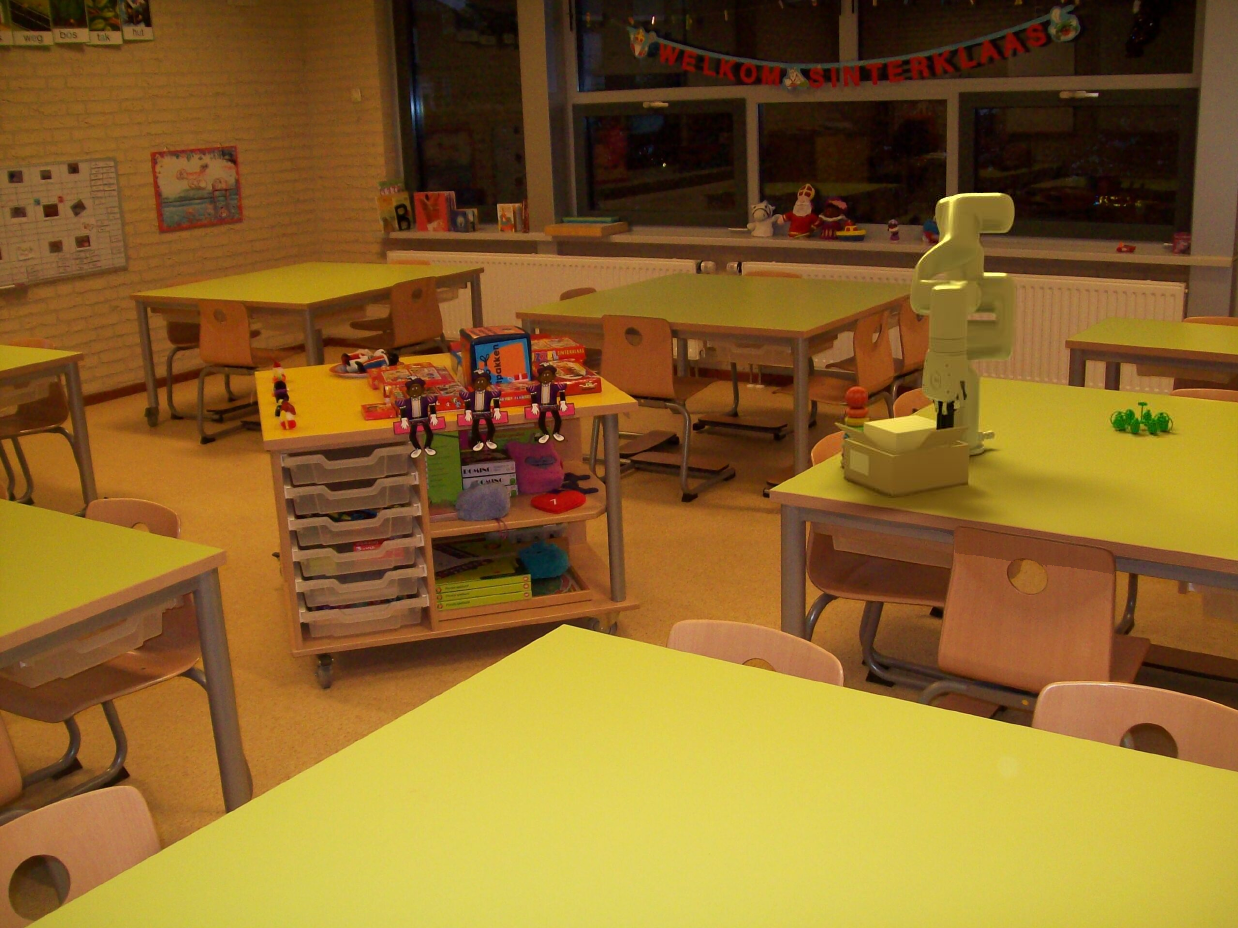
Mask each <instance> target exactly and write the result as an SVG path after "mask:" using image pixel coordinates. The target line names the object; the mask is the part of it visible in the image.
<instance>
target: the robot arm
mask: <svg viewBox="0 0 1238 928" xmlns="http://www.w3.org/2000/svg"><path fill="white" fill-rule="evenodd" d="M934 214H935V221H936V226H937V228H938V232H939V237H938V243H937V244H936V245H934V246H933V247H932V248H931V249H929V250H928V251H927V252H926V253H925V254H924V255H923V256H922V257H920V259H919V260H918V261H917V263H916V265H915V266H914V270H913V274H912V279H911V280H912V281H911V284H910V285H911V286H910V292H909V293H910V294H909V303H910V307H911V309H912V311H913V312H914V313H916V314H918V315H922V316H929V320H928V321H929V325H928V349H927V351H926V354H925V358H924V363H923V372H922V381H921V382H922V385H921V387H922V388H921V392H922V394H923V396H925V397H927V399H928V400H929V401H930V402H932V403H933V405H934V411H935V413H936V421H937V426H936V430H941V429H947V428H954V427H960V426H967V425H970V428H969V429H968V430H967V431H966V432H965V433H964V434H963V435H962V436H961V437H960V438H959V439H958V441H961V442H964V443H967V444H970V446H969V456H975V455H980V454H982V453H983V452H985V445H984V444H983V443H982V442H984V441H985V440H993V439H994V438H995V432H994V431H993V430H988V431H984V432H983V430H980V429H979V428H980V427H979V426H980V408H981V407H980V405H981V404H980V403H981V401H980V399H981V377H980V374H979V372H978V371H977V369H976V368H975V367H974V366H973V364H972V363H971V361H998V362H999V361H1006V360H1009V359H1010V357H1011V356H1012V354H1013V351H1014V346H1015V327H1016V308H1017V307H1016V304H1017V291H1016V289H1017V288H1016V283H1015V280H1014V278H1013V277H1012V276H1011V275H1010V274H1008V273H1006V272H985V269H984V265H985V251H984V248H983V247H982V245H981V244H980V235H981V234H1000V233H1001V234H1002V233H1003V234H1004V233H1007V232H1009V231H1010V230H1011V228H1012V226H1013V224H1014V219H1015V204H1014V200H1013V199H1012V197H1011V196H1010V195H1009V194H1006V193H1001V192H1000V193H999V192H983V193H980V192H979V193H977V192H974V193H973V192H971V193H959V194H954V195H953V196H948V197H944V198H941V199H940V200H938V201H937V203H936V206H935V212H934ZM943 273H945V278H934V277H936V276H938V275H941V274H943ZM972 314H974V315H975V314H976V315H977V314H979V315H980V314H983V315H984V314H985V315H986V314H987V315H992V316H993V317H994V319H976V318H975V319H974V318H971V319H970V318H968V316H970V315H972Z"/></svg>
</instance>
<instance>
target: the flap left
mask: <svg viewBox="0 0 1238 928" xmlns="http://www.w3.org/2000/svg"><path fill="white" fill-rule="evenodd" d="M969 428H970V425H967V426H960V427H954V428H947V429H941V430H934V431H930V432H929V433H928V434H927V436H926V437H925V438H924V439H923V440H922V441H921V442H920V443H919V445H918V446H917V447H916V450H917V449H923V448H930V447H936V446H942V445H949V444H955V443H956V442H957V440H958V439H959V438H960V437H961V436H962V435H963V434H964V433H965V432H966V431H967V430H968V429H969Z"/></svg>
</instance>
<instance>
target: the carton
mask: <svg viewBox="0 0 1238 928" xmlns="http://www.w3.org/2000/svg"><path fill="white" fill-rule="evenodd" d="M936 426H937V420H934V419H931V418H926V417H924V416H920V415H918V414H915V415H908V416H900V417H894V418H887V419H886V418H885V419H880V420H873V421H872V420H871V421H869V422H865V423H864V433H865V434H866V435H867V436H869V437H870V438H871V439H872V440H873V441H875V442H876V443H877V444H878V445H879V446H881V447H882V450H881V449H878V448H876V447H873V446H870V445H867V444H864V443H861V442H859V441H856V440H854V439H853V438H849V439H843V442H844V449H843V450H844V467H843V479H845V480H848V481H850V482H852V483H855V484H858V485H860V486H863V487H865V488H867V487H868V489H869V488H871V489H870V490H872V489H873V491H874V490H876V491H875V492H877V491H878V492H877V493H879V492H880V494H881V495H884V494H885V496H886V497H889V498H896V497H897V496H898V497H901V496H902V495H903V496H909V495H913V494H920V493H926V492H931V491H933V492H934V491H937V490H943V489H944V490H945V489H948V488H949V489H950V488H955V487H960V486H961V487H962V486H965V485H969V472H970V471H969V470H970V469H969V468H970V467H969V466H970V455H969V446H970V444H967V443H964V442H961V441H958V440H957V442H956V443H955V444H949V445H942V446H936V447H930V448H923V449H917V450H916V447H917V446H918V445H919V443H920V442H921V441H922V440H923V439H924V438H925V437H926V436H927V434H928V433H929V432H930V431H934V430H936ZM898 497H897V498H898Z"/></svg>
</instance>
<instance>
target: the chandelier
mask: <svg viewBox="0 0 1238 928" xmlns="http://www.w3.org/2000/svg"><path fill="white" fill-rule="evenodd" d="M1137 406H1140V407H1141V410H1140V419H1139V418H1138V417H1136V414H1135V411H1134V410H1133V409H1132V408H1128V409H1126V411H1125V412H1124V411H1122V410H1117V411H1115V412H1113V413H1112V414H1111V415H1110V419H1109V420H1110V423H1111V425H1112V427H1113V429H1114V430H1115V431H1119V430H1122V431H1126V430H1127V429H1128V428H1129V427H1130V429H1129V431H1130V432H1131V434H1132V435H1136V433H1140V428H1141V425H1144V426H1147V432H1148V433H1150V434H1153V435H1157V434H1158V433H1159V432H1161V431H1165V432H1169V431H1171V430H1172V428H1173V426H1174V422H1173V420H1172V418H1171V417H1170V415H1169V414H1168V413H1167V412H1164V411H1160V412H1157V413H1156V414H1155V415H1154V416H1153V415H1152V412H1151V410H1150V409H1145V411H1144V407H1146V406H1148V403H1147V402H1144V401H1140V402H1137ZM1114 415H1115V416H1114ZM1113 416H1114V419H1113V420H1112V418H1113ZM1170 423H1171V426H1170V428H1169V424H1170Z"/></svg>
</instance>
